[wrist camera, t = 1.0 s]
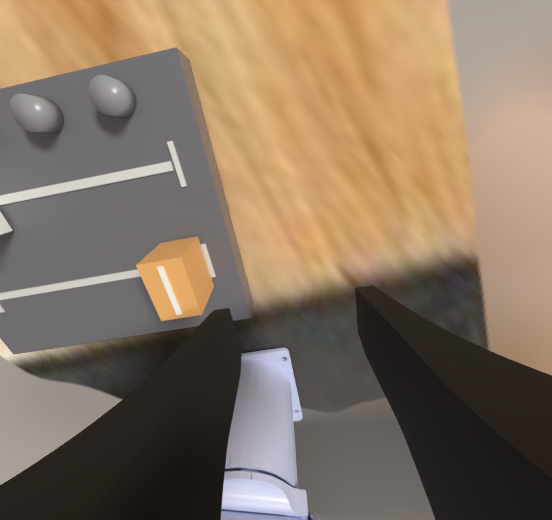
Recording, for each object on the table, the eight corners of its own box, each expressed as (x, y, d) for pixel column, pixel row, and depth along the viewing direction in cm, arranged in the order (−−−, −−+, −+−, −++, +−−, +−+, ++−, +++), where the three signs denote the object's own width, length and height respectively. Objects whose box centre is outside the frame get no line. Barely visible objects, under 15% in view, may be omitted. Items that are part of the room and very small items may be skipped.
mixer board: (253, 302, 21) (249, 328, 18) (35, 336, 22) (-2, 366, 19) (189, 59, 14) (166, 37, 11) (-116, 130, 15) (-207, 127, 12)
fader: (214, 285, 17) (201, 316, 14) (180, 291, 18) (160, 322, 15) (197, 236, 16) (179, 258, 13) (160, 242, 16) (134, 265, 13)
